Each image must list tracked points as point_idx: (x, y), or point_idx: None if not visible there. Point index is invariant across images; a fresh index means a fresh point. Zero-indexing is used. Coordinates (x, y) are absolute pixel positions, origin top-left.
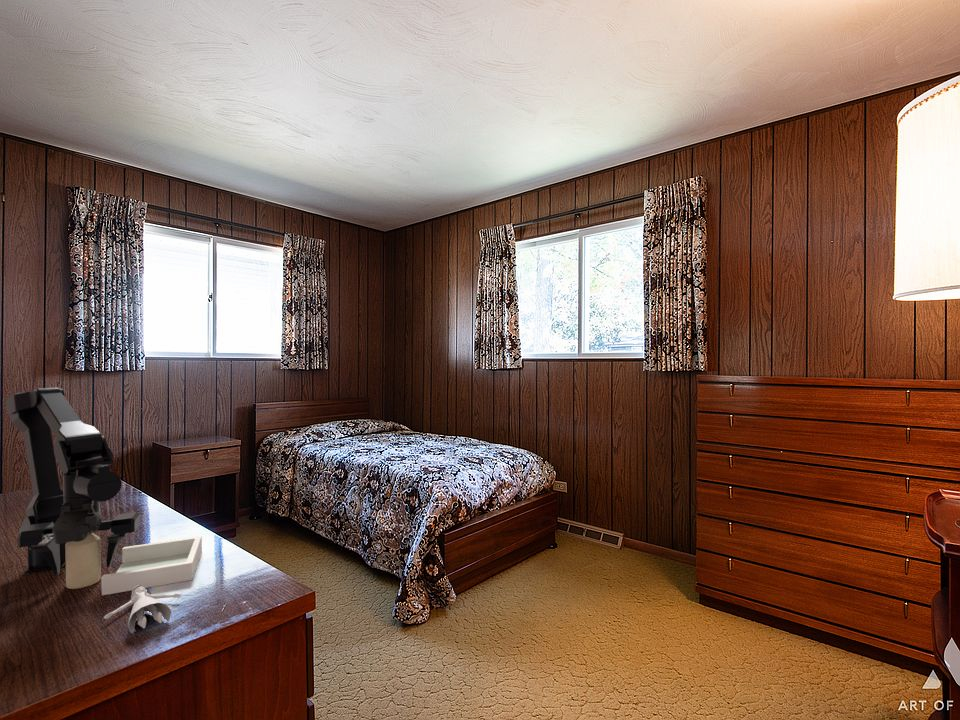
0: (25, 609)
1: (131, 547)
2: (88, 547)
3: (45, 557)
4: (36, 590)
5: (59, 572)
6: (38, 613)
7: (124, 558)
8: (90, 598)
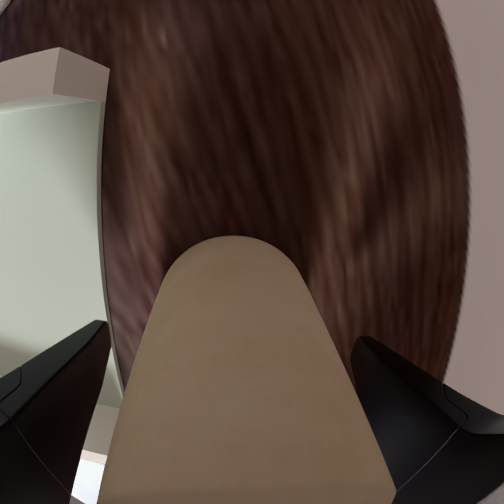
0: (424, 109)
1: (83, 451)
2: (152, 448)
3: (467, 399)
4: (401, 309)
5: (351, 358)
6: (367, 19)
7: (115, 421)
8: (158, 56)
